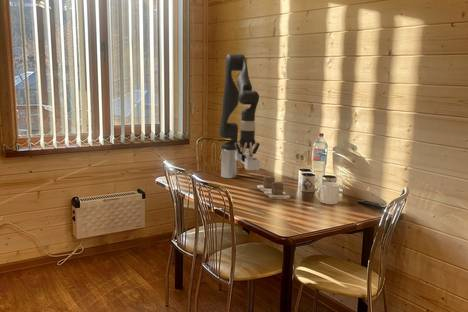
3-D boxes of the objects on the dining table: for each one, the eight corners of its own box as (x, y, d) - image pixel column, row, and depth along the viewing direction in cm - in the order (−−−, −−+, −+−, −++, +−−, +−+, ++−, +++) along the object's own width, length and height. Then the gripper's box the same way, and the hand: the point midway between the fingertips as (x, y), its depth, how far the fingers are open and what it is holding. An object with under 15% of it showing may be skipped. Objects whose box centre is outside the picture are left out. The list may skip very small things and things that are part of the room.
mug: (333, 199, 236) (335, 181, 234) (341, 204, 227) (342, 186, 226) (311, 199, 234) (312, 182, 232) (318, 205, 225) (319, 186, 223)
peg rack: (256, 186, 257) (257, 174, 256) (273, 186, 260) (274, 174, 259) (271, 199, 233) (272, 186, 231) (290, 198, 235) (290, 185, 234)
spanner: (234, 158, 253) (235, 149, 252) (245, 158, 255) (246, 149, 254) (247, 170, 229) (247, 160, 228) (259, 169, 230) (259, 160, 229)
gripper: (258, 128, 243) (257, 160, 247) (233, 128, 240) (232, 160, 243) (262, 130, 236) (261, 162, 239) (236, 130, 233) (235, 163, 236)
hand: (246, 161), depth 241 cm, fingers closed on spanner, 3 cm apart
